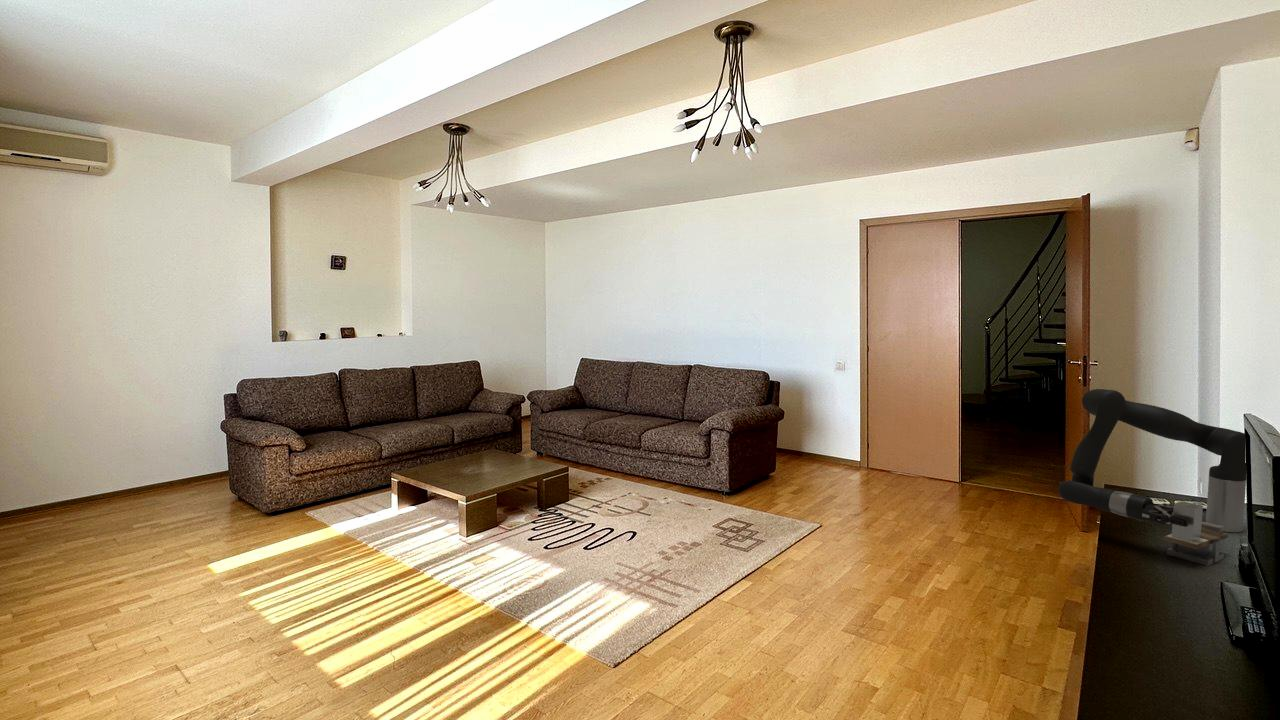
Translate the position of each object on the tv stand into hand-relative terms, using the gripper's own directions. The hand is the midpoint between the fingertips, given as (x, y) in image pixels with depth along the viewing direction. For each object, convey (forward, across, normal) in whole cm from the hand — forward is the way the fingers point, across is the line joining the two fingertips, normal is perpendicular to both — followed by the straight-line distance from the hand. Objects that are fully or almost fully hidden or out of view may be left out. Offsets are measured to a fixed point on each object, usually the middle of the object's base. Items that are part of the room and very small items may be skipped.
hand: (1194, 520), depth 187 cm
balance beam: (-2, +6, +7) cm, 9 cm away
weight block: (-2, 0, +6) cm, 6 cm away
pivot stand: (-2, +6, +13) cm, 14 cm away
